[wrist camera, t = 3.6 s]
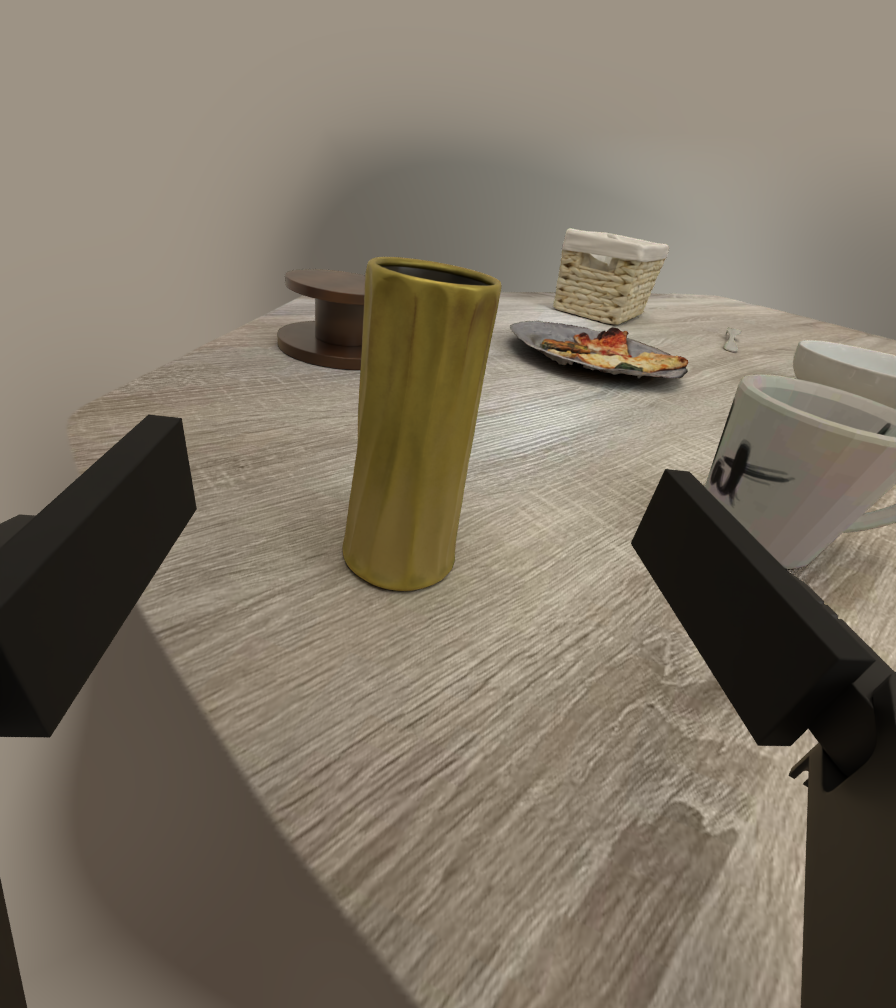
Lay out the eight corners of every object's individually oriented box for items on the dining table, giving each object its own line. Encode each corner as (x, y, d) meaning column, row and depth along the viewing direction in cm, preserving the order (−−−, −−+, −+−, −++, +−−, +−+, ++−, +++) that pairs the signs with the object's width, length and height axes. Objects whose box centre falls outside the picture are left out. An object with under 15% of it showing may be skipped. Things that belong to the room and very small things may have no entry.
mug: (658, 484, 38) (716, 362, 33) (841, 520, 38) (930, 403, 33) (702, 567, 29) (790, 420, 24) (940, 615, 29) (1084, 477, 24)
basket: (618, 329, 91) (647, 243, 83) (542, 308, 98) (563, 226, 90) (647, 317, 109) (673, 245, 101) (581, 300, 115) (601, 231, 107)
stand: (255, 354, 49) (250, 278, 45) (303, 324, 60) (303, 262, 56) (389, 379, 49) (396, 305, 45) (411, 344, 60) (418, 283, 56)
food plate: (628, 345, 80) (635, 323, 79) (716, 398, 62) (729, 372, 60) (488, 328, 74) (493, 305, 72) (541, 382, 56) (549, 352, 54)
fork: (716, 361, 92) (723, 347, 90) (723, 333, 107) (729, 321, 105) (732, 365, 91) (739, 351, 90) (736, 336, 106) (742, 324, 104)
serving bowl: (800, 376, 81) (823, 335, 78) (953, 426, 69) (989, 381, 65) (754, 389, 69) (779, 341, 65) (930, 453, 57) (973, 398, 53)
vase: (364, 511, 29) (383, 249, 21) (462, 534, 28) (518, 276, 21) (324, 575, 24) (329, 262, 16) (442, 605, 23) (507, 298, 16)
